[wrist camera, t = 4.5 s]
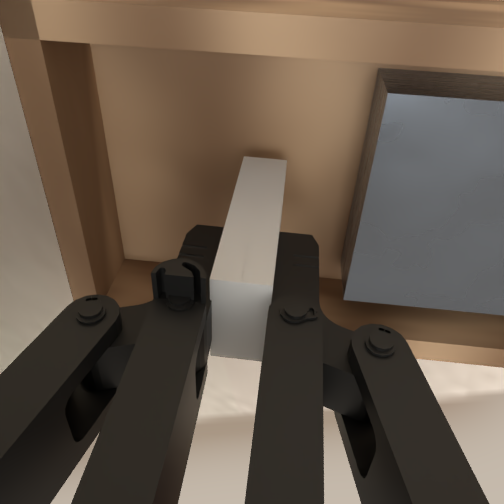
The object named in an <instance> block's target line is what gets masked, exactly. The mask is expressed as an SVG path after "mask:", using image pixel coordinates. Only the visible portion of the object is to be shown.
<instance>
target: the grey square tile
mask: <svg viewBox="0 0 504 504" xmlns="http://www.w3.org/2000/svg"><path fill="white" fill-rule="evenodd" d="M340 263H341V276H342V290H343V300H350V301H360V302H370V303H381V304H391V305H401V306H411V307H422V308H432V309H442V310H452V311H463V312H473V313H483V314H493V315H503V316H504V77H503V76H488V75H474V74H459V73H445V72H431V71H416V70H402V69H388V68H378V73H377V78H376V83H375V88H374V93H373V98H372V103H371V108H370V113H369V118H368V123H367V129H366V134H365V139H364V144H363V149H362V154H361V159H360V164H359V169H358V174H357V179H356V184H355V189H354V194H353V200H352V205H351V210H350V215H349V220H348V225H347V230H346V235H345V240H344V245H343V250H342V255H341V260H340Z"/></svg>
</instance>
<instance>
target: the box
mask: <svg viewBox="0 0 504 504" xmlns="http://www.w3.org/2000/svg"><path fill="white" fill-rule="evenodd" d="M0 25H1V29H2V32H3V36H4V40H5V44H6V48H7V51H8V55H9V59H10V63H11V66H12V70H13V74H14V78H15V81H16V85H17V89H18V93H19V97H20V100H21V104H22V108H23V112H24V115H25V119H26V123H27V127H28V130H29V134H30V138H31V142H32V146H33V149H34V153H35V157H36V161H37V164H38V168H39V172H40V176H41V179H42V183H43V187H44V191H45V195H46V198H47V202H48V206H49V210H50V213H51V217H52V221H53V225H54V228H55V232H56V236H57V240H58V244H59V247H60V251H61V255H62V259H63V262H64V266H65V270H66V274H67V277H68V281H69V285H70V289H71V293H72V296H73V300H74V301H75V300H77V299H79V298H82V297H84V296H88V295H96V294H99V295H106V296H109V297H111V298H113V299H114V300H115V301H116V302H117V303H118V305H119V307H126V306H134V305H139V304H144V303H147V302H149V301H152V300H153V289H152V280H151V272H152V270H153V269H154V268H155V266H157V265H159V264H160V263H162V262H164V261H167V260H171V259H177V257H178V255H179V252H180V249H181V247H182V244H183V241H184V239H185V236H186V234H187V233H188V232H189V231H190V230H191V229H192V228H193V227H195V226H196V225H197V224H198V225H208V226H218V227H224V226H225V222H226V219H227V215H228V211H229V208H230V204H231V201H232V197H233V194H234V190H235V186H236V183H237V179H238V176H239V172H240V169H241V165H242V161H243V158H244V156H247V157H258V158H269V159H280V160H287V167H286V177H285V187H284V197H283V207H282V217H281V227H280V232H289V233H299V234H309V235H313V237H314V239H315V240H316V242H317V243H318V245H319V303H320V308H321V310H322V312H323V314H324V315H325V316H326V317H327V318H328V319H329V320H331V321H332V322H333V323H335V324H337V325H339V326H341V327H344V328H346V329H349V330H352V331H355V330H356V329H358V328H359V327H360V326H363V325H367V324H381V325H384V326H387V327H390V328H392V329H394V330H395V331H397V332H398V333H400V334H401V335H402V336H403V337H404V339H405V340H406V341H407V343H408V345H409V347H410V349H411V350H412V352H413V354H414V356H415V358H416V359H426V360H436V361H445V362H455V363H465V364H474V365H484V366H494V367H503V368H504V316H503V315H493V314H483V313H473V312H463V311H452V310H442V309H432V308H422V307H411V306H401V305H391V304H381V303H370V302H360V301H350V300H343V290H342V276H341V263H340V260H341V255H342V250H343V245H344V240H345V235H346V230H347V225H348V220H349V215H350V210H351V205H352V200H353V194H354V189H355V184H356V179H357V174H358V169H359V164H360V159H361V154H362V149H363V144H364V139H365V134H366V129H367V123H368V118H369V113H370V108H371V103H372V98H373V93H374V88H375V83H376V78H377V73H378V68H388V69H402V70H416V71H431V72H445V73H459V74H474V75H488V76H503V77H504V1H502V0H0Z"/></svg>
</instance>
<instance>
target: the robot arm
mask: <svg viewBox="0 0 504 504" xmlns="http://www.w3.org/2000/svg"><path fill="white" fill-rule="evenodd" d="M286 167H287V160H280V159H269V158H258V157H247V156H244V158H243V161H242V165H241V169H240V172H239V176H238V179H237V183H236V186H235V190H234V194H233V197H232V201H231V204H230V208H229V211H228V215H227V219H226V222H225V226H224V227H218V226H208V225H198V224H197V225H196V226H195V227H193V228H192V229H191V230H190V231H189V232H188V233H187V234H186V236H185V239H184V241H183V244H182V247H181V249H180V252H179V255H178V257H177V259H171V260H167V261H164V262H162V263H160V264H159V265H157V266H155V268H154V269H153V270H152V272H151V280H152V289H153V300H152V301H149V302H147V303H144V304H139V305H134V306H126V307H119V305H118V303H117V302H116V301H115V300H114V299H113V298H111V297H109V296H106V295H99V294H96V295H88V296H84V297H82V298H79V299H77V300H75V301H74V302H72V303H71V304H70V305H68V306H67V307H66V308H65V309H64V310H63V311H62V312H61V313H60V314H59V315H58V316H57V317H56V318H55V319H54V320H53V321H52V322H51V323H50V324H49V325H48V326H47V327H46V329H45V330H44V331H43V332H42V333H41V334H40V335H39V336H38V337H37V338H36V339H35V340H34V341H33V342H32V343H31V344H30V345H29V346H28V347H27V348H26V349H25V350H24V351H23V352H22V353H21V354H20V355H19V356H18V357H17V358H16V359H15V360H14V361H13V362H12V363H11V364H10V365H9V366H8V367H7V368H6V369H5V370H4V371H3V372H2V373H1V374H0V504H50V503H51V502H52V500H53V499H54V497H55V496H56V494H57V493H58V492H59V490H60V489H61V487H62V486H63V484H64V483H65V481H66V480H67V478H68V477H69V476H70V474H71V473H72V471H73V470H74V468H75V467H76V465H77V464H78V462H79V461H80V460H81V458H82V456H83V455H84V454H85V452H86V451H87V449H88V448H89V446H90V445H91V444H92V442H93V441H94V439H95V438H96V436H97V435H98V433H99V432H100V433H99V436H98V438H97V441H96V443H95V446H94V448H93V451H92V453H91V456H90V458H89V460H88V463H87V465H86V468H85V471H84V473H83V476H82V478H81V480H80V483H79V486H78V488H77V490H76V493H75V495H74V498H73V500H72V503H71V504H178V500H179V496H180V491H181V487H182V483H183V478H184V474H185V469H186V465H187V460H188V456H189V452H190V447H191V443H192V438H193V434H194V429H195V425H196V421H197V416H198V412H199V407H200V403H201V399H202V394H203V390H204V385H205V381H206V376H207V359H208V354H209V350H210V353H211V356H220V357H228V358H237V359H245V360H254V361H262V366H261V374H260V382H259V390H258V399H257V407H256V415H255V423H254V432H253V440H252V449H251V457H250V464H249V473H248V481H247V489H246V497H245V504H324V461H323V460H324V456H323V455H324V453H323V452H324V450H323V406H324V407H327V408H329V409H331V410H333V411H334V412H335V417H336V421H337V424H338V427H339V431H340V434H341V437H342V440H343V444H344V447H345V450H346V454H347V457H348V461H349V464H350V467H351V470H352V474H353V477H354V481H355V484H356V487H357V490H358V494H359V497H360V501H361V504H489V502H488V500H487V498H486V496H485V495H484V493H483V490H482V488H481V487H480V485H479V483H478V481H477V479H476V477H475V475H474V473H473V471H472V469H471V467H470V465H469V463H468V461H467V459H466V457H465V455H464V453H463V451H462V449H461V447H460V445H459V443H458V441H457V439H456V437H455V435H454V433H453V431H452V430H451V427H450V426H449V423H448V421H447V419H446V418H445V416H444V414H443V412H442V410H441V408H440V406H439V404H438V402H437V400H436V398H435V396H434V394H433V392H432V390H431V388H430V386H429V384H428V382H427V380H426V378H425V376H424V374H423V372H422V370H421V368H420V366H419V364H418V362H417V360H416V358H415V356H414V354H413V352H412V350H411V349H410V347H409V345H408V343H407V341H406V340H405V339H404V337H403V336H402V335H401V334H400V333H398V332H397V331H395V330H394V329H392V328H390V327H387V326H384V325H381V324H367V325H363V326H360V327H359V328H358V329H356V330H355V331H352V330H349V329H346V328H344V327H341V326H339V325H337V324H335V323H333V322H332V321H331V320H329V319H328V318H327V317H326V316H325V315H324V314H323V312H322V310H321V308H320V303H319V245H318V243H317V242H316V240H315V239H314V237H313V235H309V234H299V233H289V232H280V227H281V217H282V207H283V197H284V187H285V177H286Z"/></svg>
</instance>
